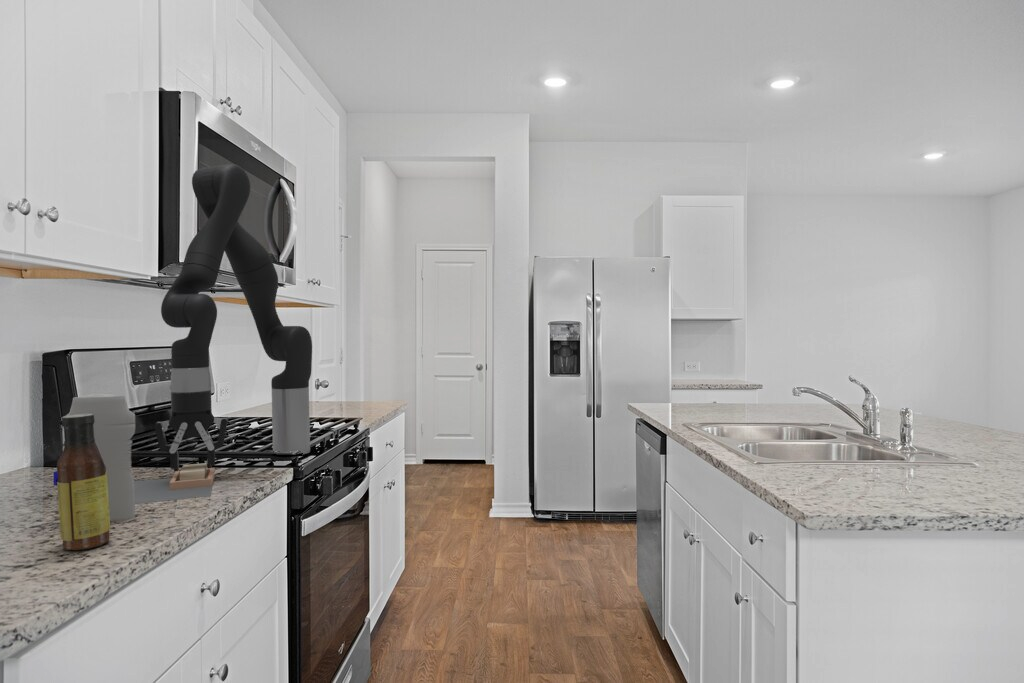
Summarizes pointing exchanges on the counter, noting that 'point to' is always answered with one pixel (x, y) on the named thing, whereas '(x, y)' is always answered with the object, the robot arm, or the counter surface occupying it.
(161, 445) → the robot arm
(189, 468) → the beige rectangular prism
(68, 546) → the sauce bottle
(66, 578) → the counter surface
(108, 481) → the tall pale column
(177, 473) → the frame
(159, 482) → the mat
